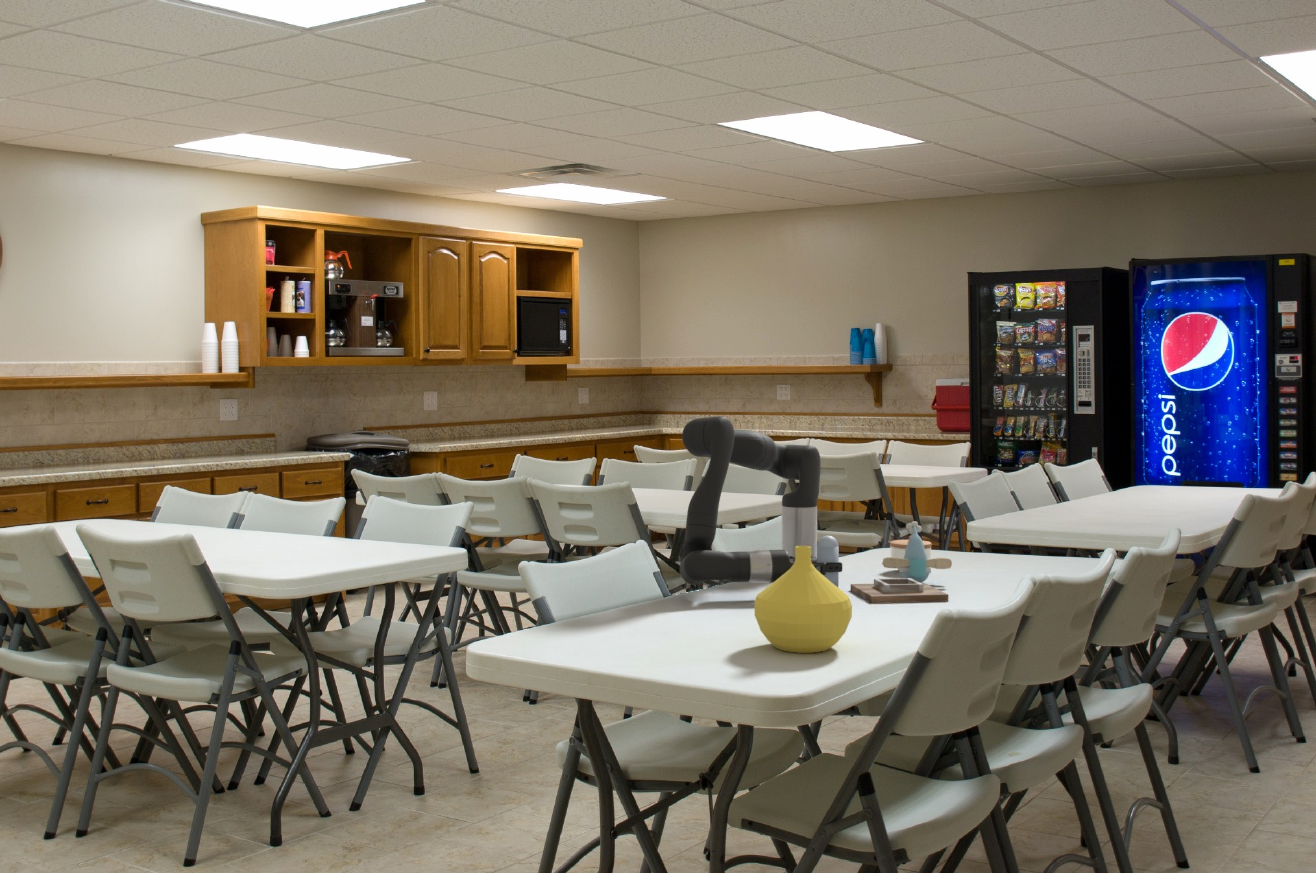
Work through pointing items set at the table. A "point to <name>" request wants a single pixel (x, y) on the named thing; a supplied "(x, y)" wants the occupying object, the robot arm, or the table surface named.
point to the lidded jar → (901, 545)
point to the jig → (898, 591)
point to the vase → (803, 608)
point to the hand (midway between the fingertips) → (837, 564)
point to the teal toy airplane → (916, 558)
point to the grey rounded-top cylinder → (828, 556)
